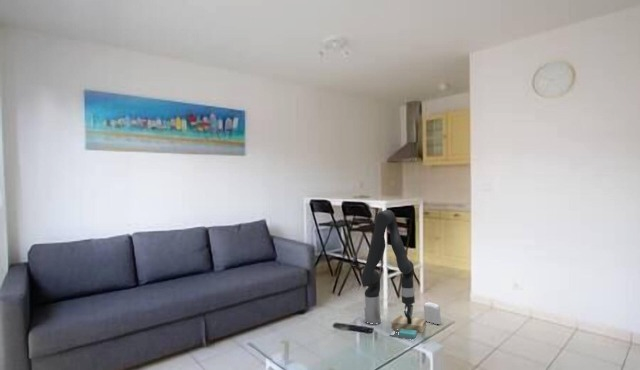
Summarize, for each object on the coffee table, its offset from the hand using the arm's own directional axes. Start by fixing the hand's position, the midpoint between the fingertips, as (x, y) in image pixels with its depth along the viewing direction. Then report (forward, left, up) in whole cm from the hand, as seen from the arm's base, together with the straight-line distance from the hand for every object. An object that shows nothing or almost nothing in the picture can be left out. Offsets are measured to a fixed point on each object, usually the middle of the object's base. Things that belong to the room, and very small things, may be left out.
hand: (409, 323), depth 210 cm
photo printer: (+10, +18, -5) cm, 21 cm away
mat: (-3, -6, -5) cm, 8 cm away
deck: (-2, +6, -5) cm, 8 cm away
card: (0, -6, -2) cm, 6 cm away
